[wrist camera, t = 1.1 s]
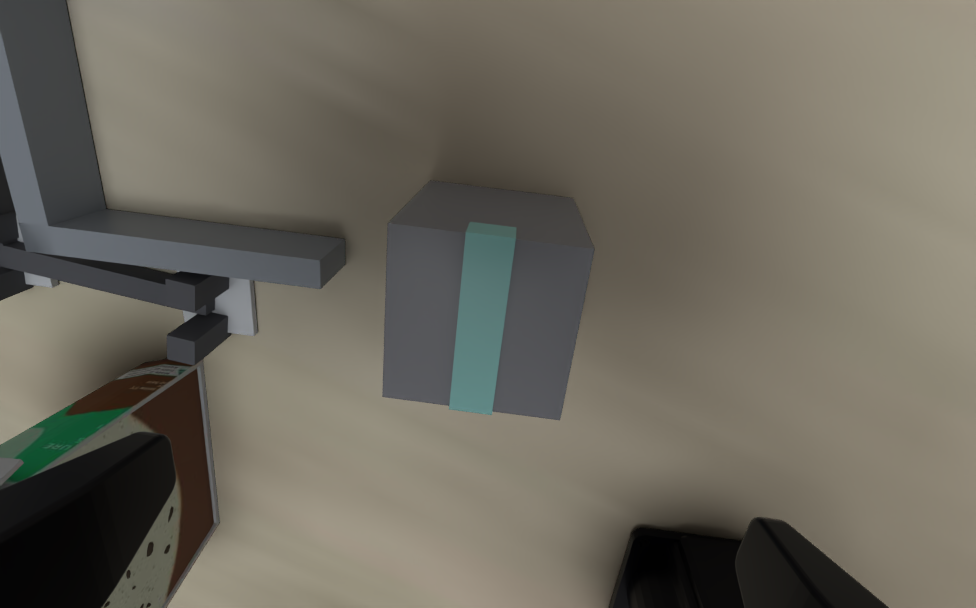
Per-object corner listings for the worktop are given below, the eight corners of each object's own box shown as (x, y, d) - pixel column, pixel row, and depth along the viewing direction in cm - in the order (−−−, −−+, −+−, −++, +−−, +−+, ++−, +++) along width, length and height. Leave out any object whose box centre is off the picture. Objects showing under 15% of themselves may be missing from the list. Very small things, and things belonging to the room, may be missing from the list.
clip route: (257, 337, 21) (224, 369, 18) (-1, 304, 21) (-67, 331, 19) (232, 32, 16) (184, 23, 14) (-96, -7, 16) (-197, -22, 14)
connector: (550, 327, 20) (559, 423, 14) (422, 311, 20) (381, 400, 14) (573, 196, 18) (595, 248, 12) (430, 178, 18) (386, 222, 12)
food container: (51, 304, 21) (-327, 477, 12) (199, 327, 21) (-61, 520, 11) (102, 525, 26) (-134, 770, 16) (221, 544, 26) (52, 800, 16)
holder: (345, 264, 19) (320, 288, 17) (85, 231, 19) (26, 251, 17) (343, -94, 15) (310, -127, 12) (7, -132, 15) (-87, -171, 13)
